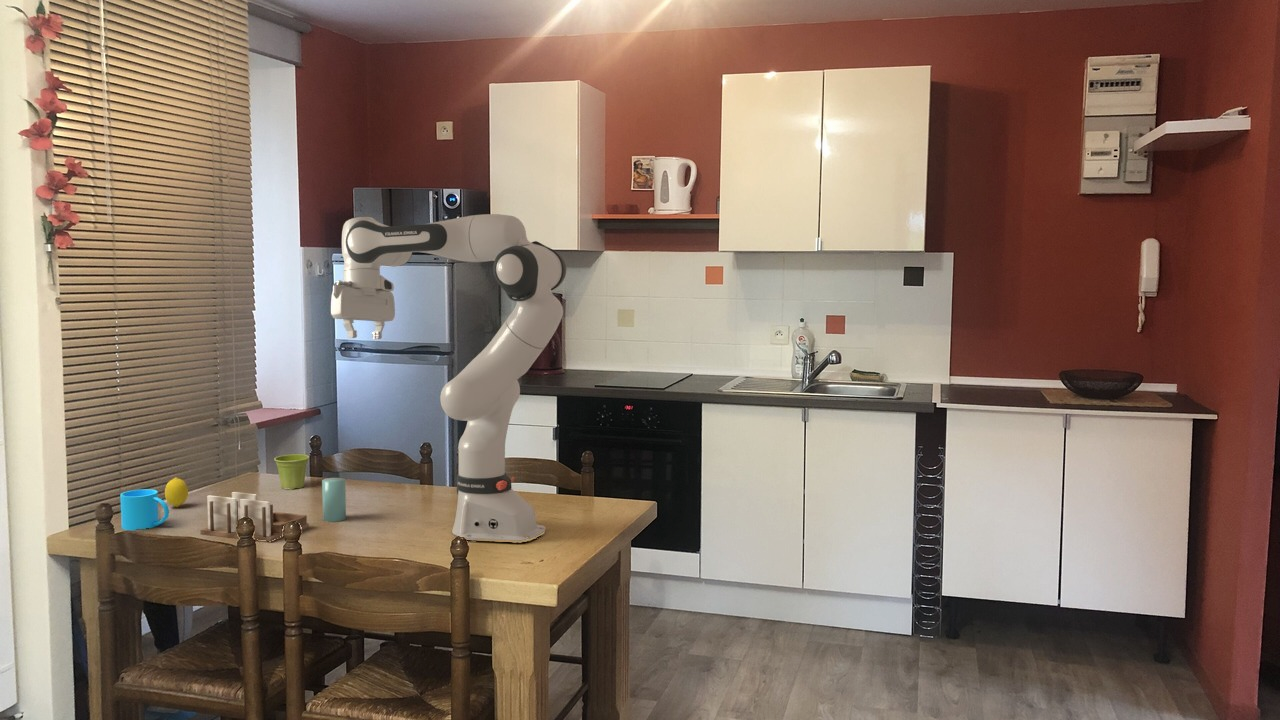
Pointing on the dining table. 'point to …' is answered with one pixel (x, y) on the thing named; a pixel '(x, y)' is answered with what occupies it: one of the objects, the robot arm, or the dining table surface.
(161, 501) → the mug
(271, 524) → the rack
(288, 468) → the plant pot
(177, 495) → the lemon
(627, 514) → the dining table surface
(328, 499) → the teal glossy cylinder
